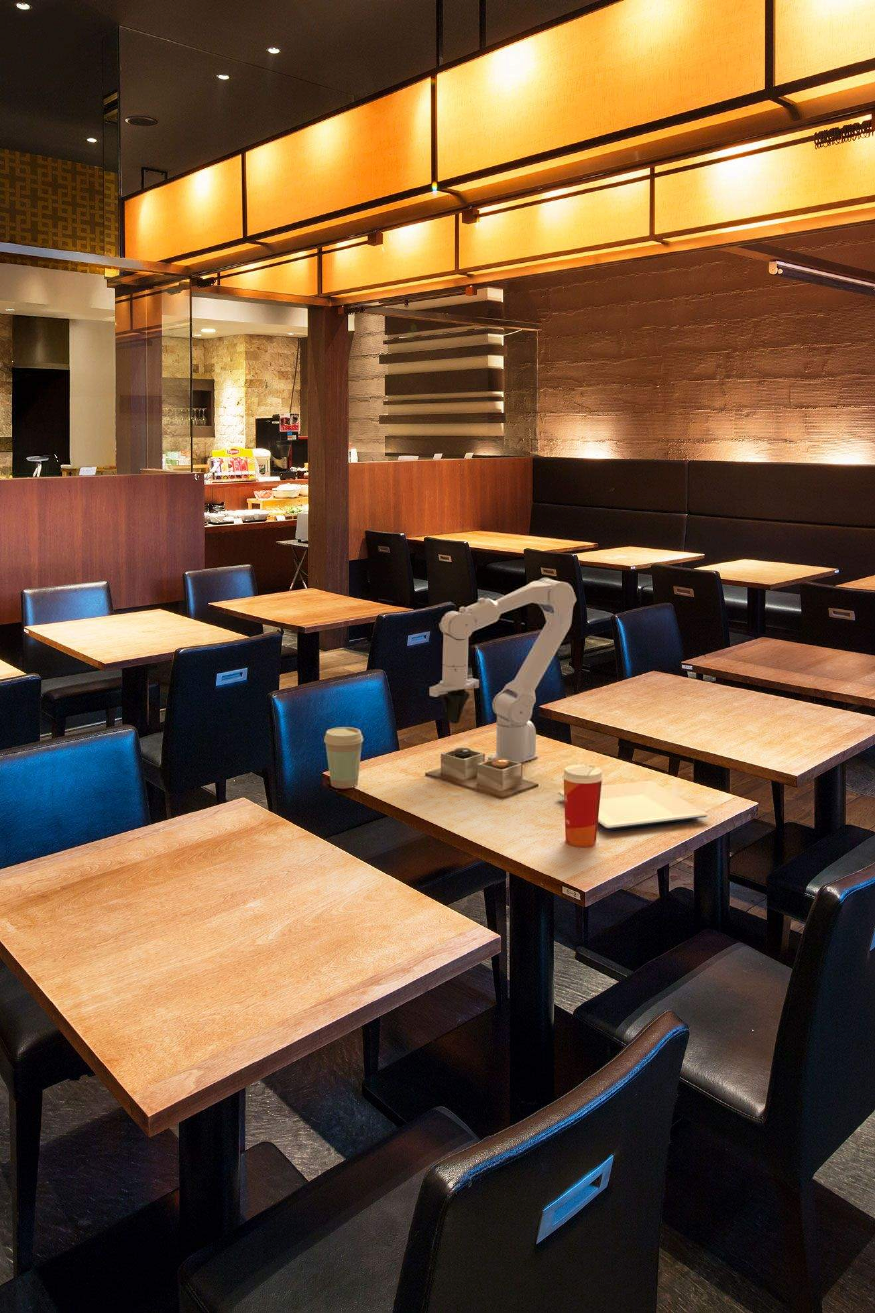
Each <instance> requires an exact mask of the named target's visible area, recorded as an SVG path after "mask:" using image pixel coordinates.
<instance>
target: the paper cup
mask: <svg viewBox="0 0 875 1313" xmlns="http://www.w3.org/2000/svg"><path fill="white" fill-rule="evenodd" d="M561 777H562V779H563V790H564V797H563V799H564V800H563V805H564V806H563V807H564V808H563V809H564V830H565V832H564V834H565V842H566V844H567V845H569V846H572V847H576V848H588V847H593V846H595V844H596V843H597V834H598V826H599V823H598V817H599V806H600V795H601V786H603V784H602V783H603V780H604V779H605V778H604V775H603V772H602V769H601V768H600V767H598V766H597V767H595V766H592V765H587V764H572V765H569V766H566V767H565V768H564V770H563V773H561Z"/></svg>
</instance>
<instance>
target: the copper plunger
mask: <svg viewBox="0 0 875 1313" xmlns="http://www.w3.org/2000/svg"><path fill="white" fill-rule="evenodd" d="M492 767H493V768H496V769H500V770H503V769H505V768H508V759H505V758H494V759H492Z"/></svg>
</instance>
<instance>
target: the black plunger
mask: <svg viewBox="0 0 875 1313" xmlns="http://www.w3.org/2000/svg"><path fill="white" fill-rule="evenodd" d="M454 750H455V757H457V758H461V759H465V758H469V757H471V750H472V749H471V748H468V747H457V748H455V749H454Z"/></svg>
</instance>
